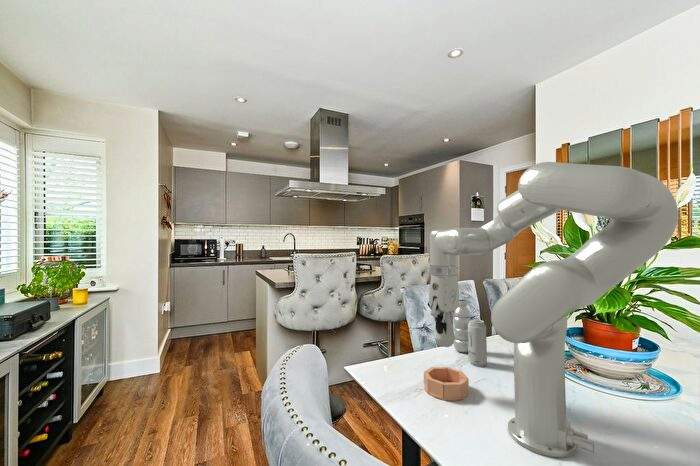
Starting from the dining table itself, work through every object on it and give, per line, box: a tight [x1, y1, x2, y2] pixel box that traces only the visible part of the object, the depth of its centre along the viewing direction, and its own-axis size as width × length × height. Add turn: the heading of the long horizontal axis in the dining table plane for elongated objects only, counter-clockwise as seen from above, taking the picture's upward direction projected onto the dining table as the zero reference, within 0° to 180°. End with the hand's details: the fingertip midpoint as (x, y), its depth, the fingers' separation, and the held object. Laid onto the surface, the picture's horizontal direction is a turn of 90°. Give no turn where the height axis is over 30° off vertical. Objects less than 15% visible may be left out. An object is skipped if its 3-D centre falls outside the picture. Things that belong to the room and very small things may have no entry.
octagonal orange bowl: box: [423, 366, 470, 402], centre depth 87 cm, size 12×12×4 cm
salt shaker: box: [433, 309, 455, 348], centre depth 88 cm, size 6×6×13 cm
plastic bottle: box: [453, 299, 472, 353], centre depth 118 cm, size 6×7×20 cm
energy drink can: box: [467, 318, 488, 368], centre depth 106 cm, size 6×6×15 cm
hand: (444, 333), depth 87 cm, fingers closed on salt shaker, 3 cm apart
